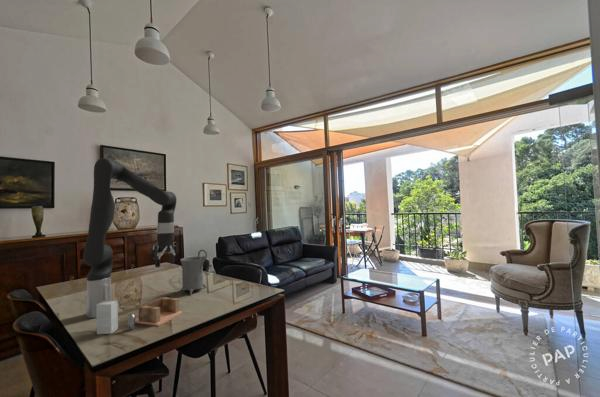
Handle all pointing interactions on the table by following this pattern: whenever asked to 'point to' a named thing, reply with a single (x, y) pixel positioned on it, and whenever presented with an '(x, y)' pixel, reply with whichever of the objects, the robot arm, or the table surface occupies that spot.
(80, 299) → the table surface
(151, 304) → the c link
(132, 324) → the post
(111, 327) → the skincare box
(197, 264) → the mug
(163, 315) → the tile
